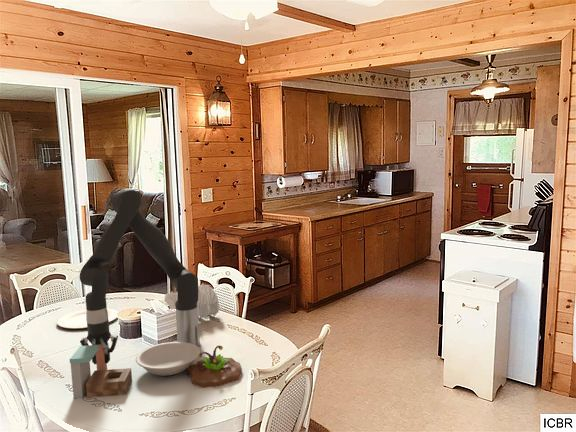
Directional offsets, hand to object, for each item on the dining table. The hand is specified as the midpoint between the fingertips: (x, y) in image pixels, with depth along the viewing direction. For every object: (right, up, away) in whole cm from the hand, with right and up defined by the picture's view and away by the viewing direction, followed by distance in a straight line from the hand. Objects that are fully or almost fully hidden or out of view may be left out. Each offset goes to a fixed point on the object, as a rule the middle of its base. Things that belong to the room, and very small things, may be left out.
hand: (101, 362), depth 178 cm
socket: (+7, -6, -9) cm, 13 cm away
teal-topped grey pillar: (-1, -7, -10) cm, 12 cm away
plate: (-31, +2, +61) cm, 69 cm away
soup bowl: (+25, -4, +4) cm, 25 cm away
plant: (+43, -5, +1) cm, 44 cm away
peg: (0, -4, +1) cm, 4 cm away
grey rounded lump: (+24, +3, +58) cm, 63 cm away
